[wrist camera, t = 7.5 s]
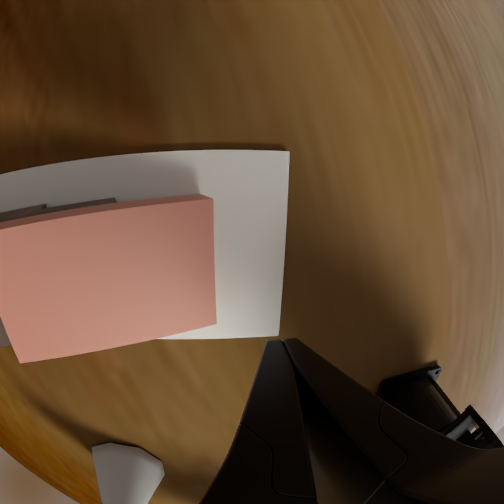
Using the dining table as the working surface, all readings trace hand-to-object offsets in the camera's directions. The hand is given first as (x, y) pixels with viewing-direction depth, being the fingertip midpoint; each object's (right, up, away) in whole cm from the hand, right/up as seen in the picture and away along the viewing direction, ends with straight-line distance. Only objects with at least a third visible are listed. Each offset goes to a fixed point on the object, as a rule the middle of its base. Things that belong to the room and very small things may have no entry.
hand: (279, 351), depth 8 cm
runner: (-10, +3, +6) cm, 12 cm away
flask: (-13, -17, +13) cm, 25 cm away
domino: (-3, +2, +6) cm, 7 cm away
